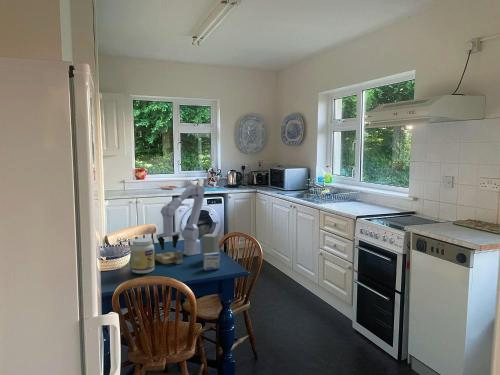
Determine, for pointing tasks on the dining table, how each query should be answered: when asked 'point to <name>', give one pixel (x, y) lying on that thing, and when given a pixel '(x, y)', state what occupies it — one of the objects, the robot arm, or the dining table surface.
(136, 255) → the supplement tub
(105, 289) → the dining table surface
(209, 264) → the medicine box
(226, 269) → the dining table surface
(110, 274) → the dining table surface
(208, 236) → the skincare box
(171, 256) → the green-striped tan block
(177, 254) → the column
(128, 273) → the dining table surface
